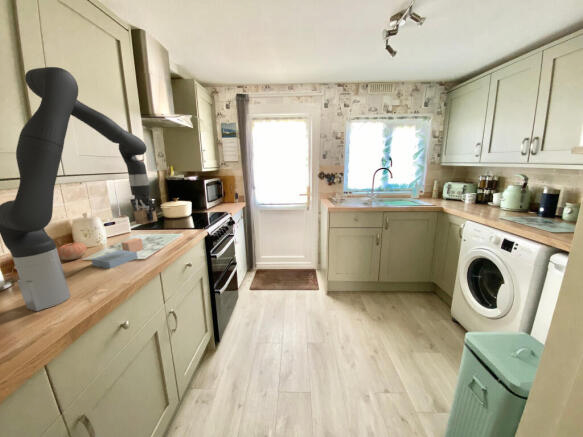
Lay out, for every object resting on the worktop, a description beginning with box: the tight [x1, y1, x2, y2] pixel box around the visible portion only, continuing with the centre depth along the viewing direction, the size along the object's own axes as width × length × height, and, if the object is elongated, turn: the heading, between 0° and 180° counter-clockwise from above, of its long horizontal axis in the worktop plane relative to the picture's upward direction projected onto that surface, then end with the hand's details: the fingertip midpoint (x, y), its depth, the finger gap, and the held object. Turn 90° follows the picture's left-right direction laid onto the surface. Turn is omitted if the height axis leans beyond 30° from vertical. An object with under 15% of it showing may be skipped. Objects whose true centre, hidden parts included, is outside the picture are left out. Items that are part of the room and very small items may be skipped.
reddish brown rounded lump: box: [57, 242, 88, 261], centre depth 111 cm, size 11×11×8 cm
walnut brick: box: [133, 208, 158, 225], centre depth 109 cm, size 7×5×6 cm
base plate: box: [91, 249, 138, 270], centre depth 105 cm, size 12×12×3 cm
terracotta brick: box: [120, 237, 144, 253], centre depth 118 cm, size 7×5×6 cm
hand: (146, 220), depth 109 cm, fingers closed on walnut brick, 5 cm apart
